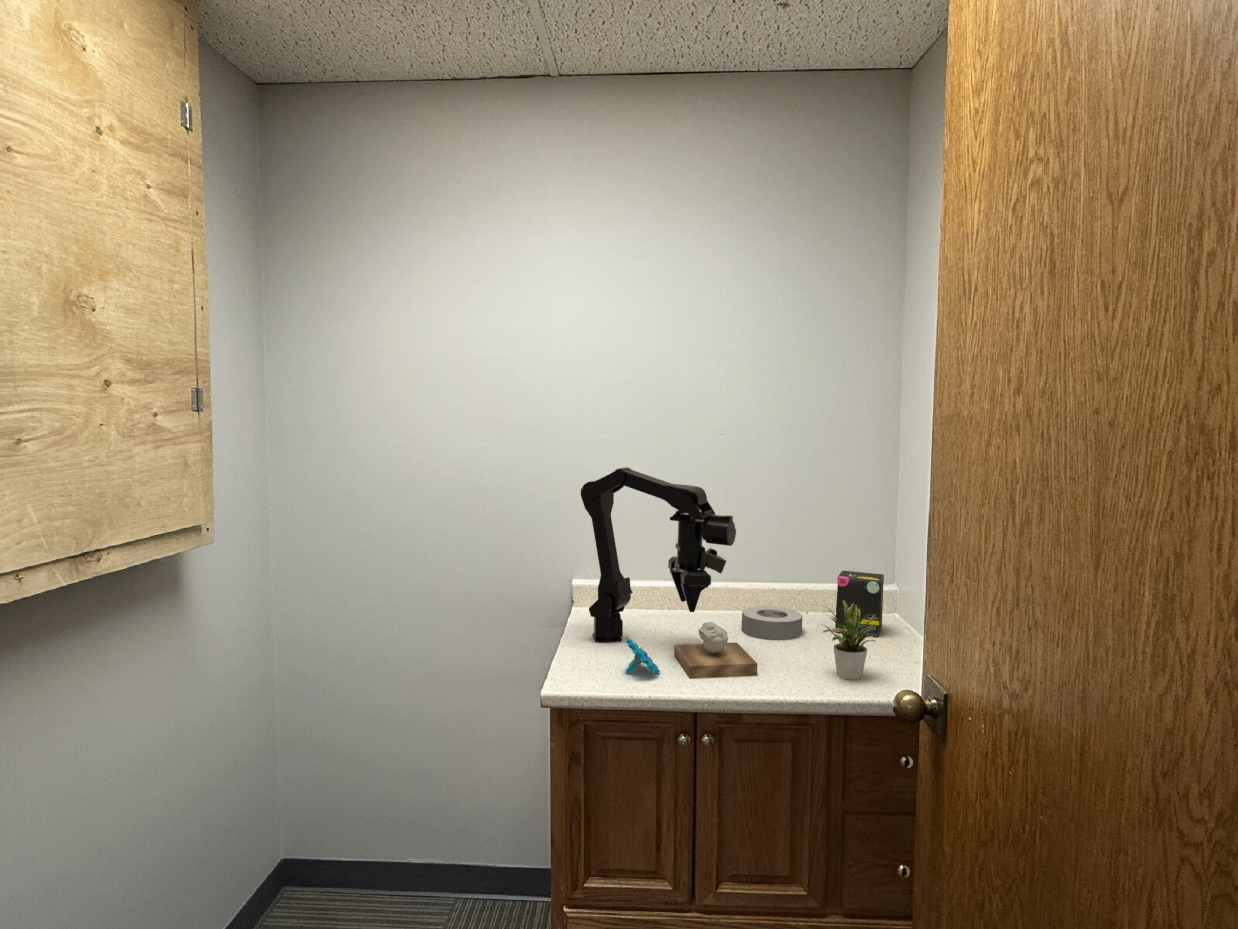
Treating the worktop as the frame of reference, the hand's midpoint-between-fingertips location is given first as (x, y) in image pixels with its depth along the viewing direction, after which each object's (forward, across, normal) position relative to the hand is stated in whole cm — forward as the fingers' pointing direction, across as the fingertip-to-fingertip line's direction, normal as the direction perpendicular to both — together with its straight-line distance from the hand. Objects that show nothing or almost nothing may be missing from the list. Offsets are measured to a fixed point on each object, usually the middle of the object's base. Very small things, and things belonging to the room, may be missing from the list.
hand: (687, 606), depth 188 cm
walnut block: (+12, -10, -4) cm, 16 cm away
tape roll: (+11, +14, -26) cm, 32 cm away
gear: (+11, -13, +13) cm, 21 cm away
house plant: (+10, -19, -31) cm, 38 cm away
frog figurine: (+8, -10, -4) cm, 13 cm away
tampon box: (+11, +13, -49) cm, 52 cm away
